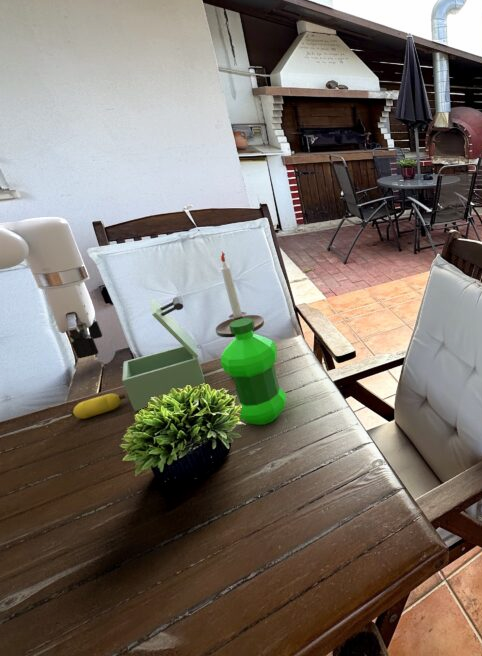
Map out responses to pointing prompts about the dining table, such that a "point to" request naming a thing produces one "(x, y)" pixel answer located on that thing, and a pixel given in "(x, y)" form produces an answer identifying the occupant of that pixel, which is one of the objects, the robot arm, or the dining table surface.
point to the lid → (174, 323)
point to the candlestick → (234, 305)
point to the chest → (160, 374)
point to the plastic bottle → (253, 373)
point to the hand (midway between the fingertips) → (91, 346)
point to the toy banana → (97, 405)
